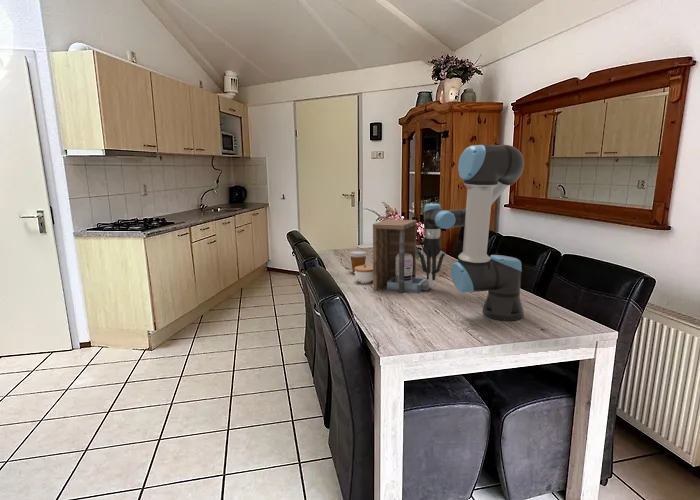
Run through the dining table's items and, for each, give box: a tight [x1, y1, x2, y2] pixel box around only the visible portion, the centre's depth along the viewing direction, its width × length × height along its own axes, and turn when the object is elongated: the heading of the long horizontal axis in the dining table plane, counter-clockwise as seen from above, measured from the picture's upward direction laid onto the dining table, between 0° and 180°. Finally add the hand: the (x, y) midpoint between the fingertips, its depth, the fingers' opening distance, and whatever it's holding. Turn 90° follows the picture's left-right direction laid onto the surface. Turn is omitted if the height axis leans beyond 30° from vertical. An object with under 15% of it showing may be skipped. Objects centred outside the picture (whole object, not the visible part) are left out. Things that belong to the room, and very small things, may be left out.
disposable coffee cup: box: [349, 250, 368, 273], centre depth 229 cm, size 10×10×12 cm
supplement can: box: [395, 253, 413, 284], centre depth 198 cm, size 8×8×15 cm
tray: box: [386, 276, 431, 294], centre depth 198 cm, size 13×19×4 cm
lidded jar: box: [354, 263, 373, 284], centre depth 210 cm, size 11×11×9 cm
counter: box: [372, 218, 417, 294], centre depth 199 cm, size 20×15×32 cm
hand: (430, 286), depth 194 cm, fingers closed
